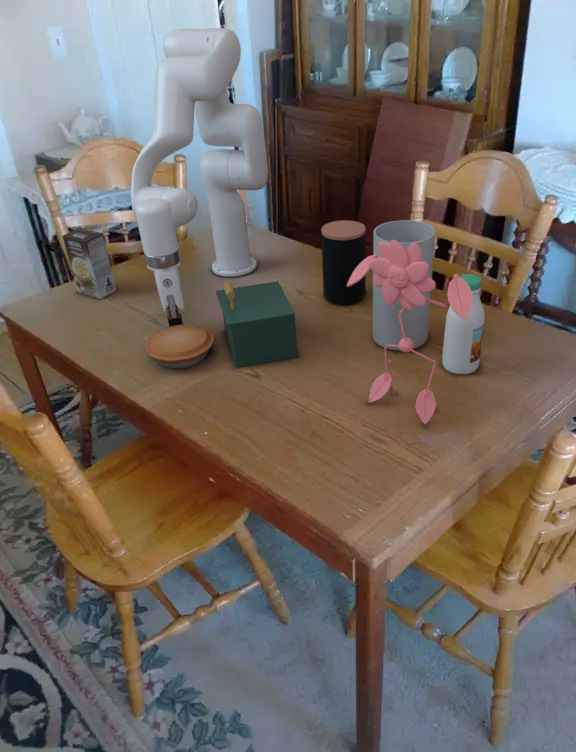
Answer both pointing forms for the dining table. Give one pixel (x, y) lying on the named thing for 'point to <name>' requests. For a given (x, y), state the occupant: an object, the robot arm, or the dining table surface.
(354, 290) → the coffee jar
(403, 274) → the figurine
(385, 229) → the cylinder vase
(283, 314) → the bread bin lid
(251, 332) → the bread bin
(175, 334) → the pie
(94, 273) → the coffee box
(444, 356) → the milk bottle
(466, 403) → the dining table surface
